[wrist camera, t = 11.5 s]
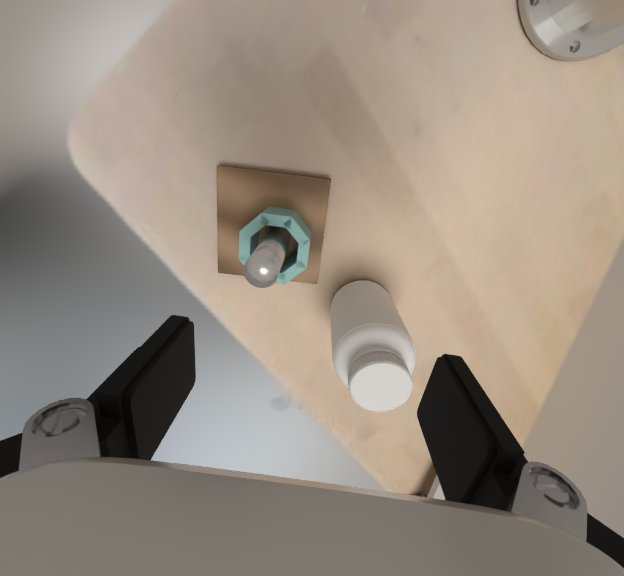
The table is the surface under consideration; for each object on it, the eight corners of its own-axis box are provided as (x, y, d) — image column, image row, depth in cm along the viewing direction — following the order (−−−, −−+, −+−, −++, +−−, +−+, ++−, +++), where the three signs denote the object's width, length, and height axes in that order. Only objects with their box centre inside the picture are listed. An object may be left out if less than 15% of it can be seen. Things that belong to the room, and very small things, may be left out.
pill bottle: (317, 300, 38) (315, 378, 24) (371, 266, 36) (402, 330, 22) (350, 343, 40) (365, 437, 27) (402, 314, 39) (448, 399, 25)
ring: (250, 203, 32) (240, 209, 28) (313, 212, 33) (312, 219, 28) (247, 264, 35) (238, 277, 31) (306, 271, 35) (304, 286, 31)
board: (220, 165, 32) (216, 165, 31) (330, 179, 32) (330, 179, 31) (221, 269, 37) (218, 272, 36) (317, 280, 37) (317, 284, 36)
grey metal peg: (267, 225, 33) (243, 252, 23) (292, 228, 33) (279, 257, 23) (266, 249, 34) (243, 285, 24) (290, 252, 34) (277, 289, 24)
